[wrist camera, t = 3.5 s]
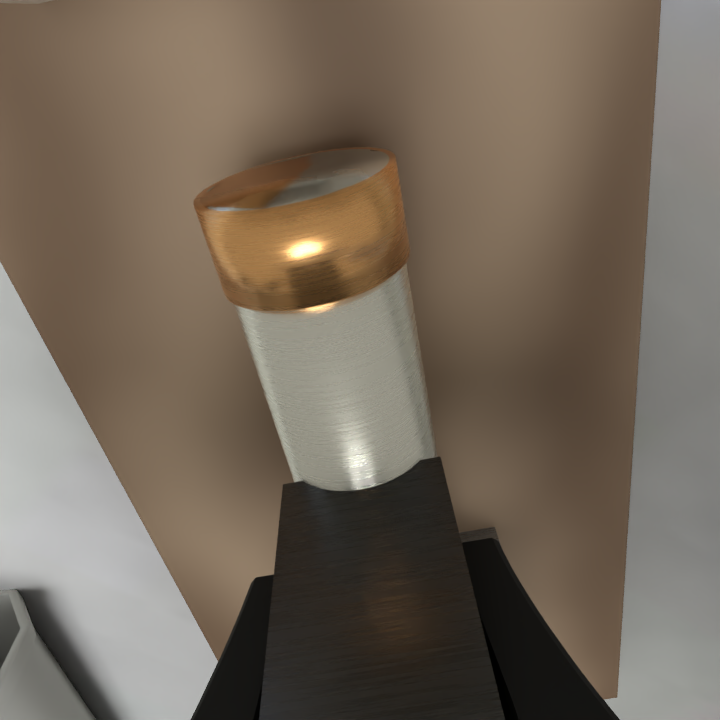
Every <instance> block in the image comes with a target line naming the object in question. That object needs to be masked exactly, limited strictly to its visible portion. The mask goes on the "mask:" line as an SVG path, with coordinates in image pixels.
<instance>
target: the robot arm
mask: <svg viewBox="0 0 720 720" xmlns="http://www.w3.org/2000/svg"><path fill="white" fill-rule="evenodd" d="M462 546H463V551H464V555H465V559H466V563H467V567H468V571H469V575H470V579H471V583H472V587H473V591H474V595H475V599H476V603H477V608H478V612H479V616H480V620H481V624H482V628H483V632H484V636H485V640H486V644H487V648H488V652H489V656H490V660H491V664H492V669H493V673H494V677H495V681H496V685H497V689H498V693H499V697H500V701H501V705H502V709H503V713H504V717H505V720H620V719H619V718H618V717H617V716H616V715H615V713H614V712H613V711H612V710H611V709H610V707H609V706H608V705H607V703H606V702H605V701H604V700H603V698H602V697H601V696H600V695H599V693H598V692H597V691H596V690H595V688H594V687H593V686H592V684H591V683H590V682H589V681H588V679H587V678H586V677H585V675H584V674H583V673H582V671H581V670H580V669H579V667H578V666H577V665H576V663H575V662H574V661H573V659H572V658H571V657H570V655H569V654H568V652H567V651H566V650H565V648H564V647H563V645H562V644H561V643H560V641H559V640H558V638H557V637H556V636H555V634H554V633H553V631H552V630H551V629H550V627H549V626H548V624H547V623H546V621H545V620H544V618H543V617H542V615H541V614H540V612H539V611H538V610H537V608H536V606H535V605H534V603H533V602H532V600H531V599H530V597H529V595H528V594H527V592H526V591H525V589H524V587H523V586H522V584H521V582H520V581H519V579H518V577H517V576H516V574H515V572H514V570H513V569H512V567H511V565H510V563H509V561H508V559H507V557H506V556H505V554H504V552H503V550H502V547H501V545H500V543H499V541H497V540H496V539H494V538H486V539H481V540H475V541H469V542H463V543H462ZM273 577H274V574H273V575H267V576H261V577H256V578H255V579H254V580H253V581H252V582H251V585H250V587H249V590H248V592H247V595H246V597H245V600H244V603H243V605H242V607H241V610H240V612H239V615H238V617H237V620H236V622H235V625H234V627H233V629H232V632H231V634H230V636H229V639H228V641H227V643H226V646H225V648H224V650H223V652H222V655H221V657H220V659H219V661H218V664H217V666H216V668H215V670H214V672H213V674H212V676H211V678H210V681H209V683H208V685H207V687H206V689H205V691H204V693H203V695H202V698H201V700H200V702H199V704H198V706H197V708H196V710H195V712H194V714H193V716H192V718H191V720H259V716H260V706H261V696H262V686H263V676H264V666H265V656H266V646H267V636H268V626H269V617H270V607H271V597H272V587H273Z"/></svg>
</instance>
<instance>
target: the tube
mask: <svg viewBox="0 0 720 720" xmlns="http://www.w3.org/2000/svg"><path fill="white" fill-rule="evenodd" d="M0 720H96V719H95V717H94V716H93V714H92V713H91V711H90V710H89V708H88V707H87V705H86V704H85V702H84V701H83V699H82V698H81V696H80V695H79V693H78V692H77V691H76V689H75V688H74V686H73V685H72V683H71V682H70V680H69V679H68V677H67V676H66V674H65V673H64V671H63V670H62V668H61V667H60V665H59V664H58V662H57V661H56V659H55V658H54V657H53V655H52V654H51V652H50V651H49V649H48V648H47V646H46V645H45V643H44V642H43V640H42V639H41V637H40V636H39V634H38V633H37V631H36V630H35V628H34V627H33V624H32V622H31V619H30V616H29V614H28V611H27V608H26V605H25V603H24V600H23V598H22V596H21V595H20V593H19V592H18V590H16V589H12V590H3V591H0Z"/></svg>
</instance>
